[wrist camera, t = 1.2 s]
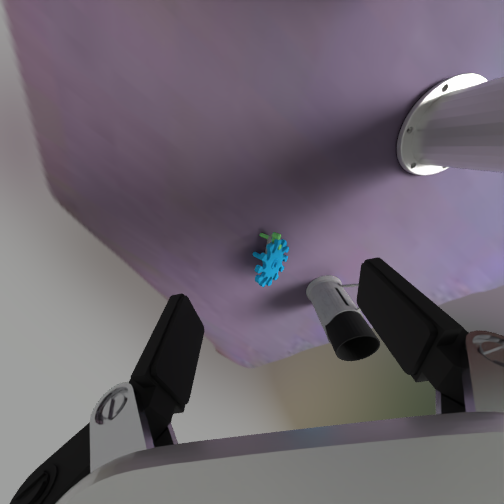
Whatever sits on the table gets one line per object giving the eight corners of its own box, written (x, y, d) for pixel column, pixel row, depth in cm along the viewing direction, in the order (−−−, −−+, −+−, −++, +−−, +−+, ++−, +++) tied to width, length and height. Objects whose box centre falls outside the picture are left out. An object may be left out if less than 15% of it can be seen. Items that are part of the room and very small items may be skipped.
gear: (284, 279, 40) (256, 296, 32) (263, 268, 43) (233, 281, 36) (297, 232, 36) (268, 238, 28) (273, 224, 39) (241, 227, 31)
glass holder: (298, 294, 44) (322, 355, 31) (340, 252, 38) (389, 305, 26) (324, 306, 47) (355, 367, 34) (366, 268, 41) (424, 323, 28)
